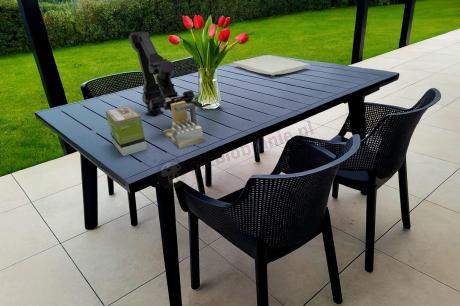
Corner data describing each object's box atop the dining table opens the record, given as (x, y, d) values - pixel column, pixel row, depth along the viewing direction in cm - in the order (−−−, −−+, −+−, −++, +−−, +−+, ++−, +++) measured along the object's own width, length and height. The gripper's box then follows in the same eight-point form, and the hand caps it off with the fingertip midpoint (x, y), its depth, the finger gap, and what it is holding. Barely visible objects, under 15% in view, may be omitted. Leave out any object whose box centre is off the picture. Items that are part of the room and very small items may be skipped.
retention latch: (173, 133, 149) (169, 103, 143) (186, 129, 151) (183, 100, 146) (178, 137, 144) (174, 106, 139) (192, 133, 147) (188, 103, 141)
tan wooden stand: (163, 133, 154) (158, 102, 147) (186, 127, 158) (182, 96, 152) (179, 148, 139) (175, 114, 133) (205, 141, 144) (201, 107, 137)
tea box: (112, 144, 147) (104, 110, 141) (135, 137, 152) (129, 104, 145) (122, 157, 135) (114, 120, 129) (147, 149, 140) (141, 114, 133)
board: (233, 68, 258) (233, 61, 256) (268, 61, 273) (268, 55, 271) (271, 80, 223) (271, 72, 221) (309, 71, 238) (310, 64, 236)
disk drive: (216, 103, 188) (198, 98, 198) (216, 98, 187) (197, 93, 197) (201, 109, 182) (183, 103, 192) (201, 103, 181) (183, 98, 190)
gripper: (182, 91, 161) (195, 121, 158) (143, 100, 154) (155, 131, 150) (187, 78, 152) (201, 109, 148) (145, 86, 144) (158, 119, 140)
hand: (179, 117), depth 147 cm, fingers closed, pressing on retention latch
